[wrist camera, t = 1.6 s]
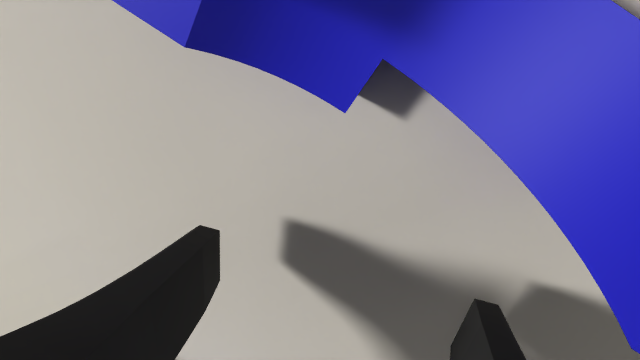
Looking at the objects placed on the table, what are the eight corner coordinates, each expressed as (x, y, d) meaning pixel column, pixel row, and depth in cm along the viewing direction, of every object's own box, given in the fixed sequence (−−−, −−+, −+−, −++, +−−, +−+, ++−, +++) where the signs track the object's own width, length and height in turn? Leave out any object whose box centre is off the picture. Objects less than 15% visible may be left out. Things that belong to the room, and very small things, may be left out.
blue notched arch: (151, -45, 10) (-120, -12, 5) (215, -283, 8) (-191, -658, 3) (538, 212, 11) (616, 439, 6) (704, 80, 9) (1047, 285, 4)
